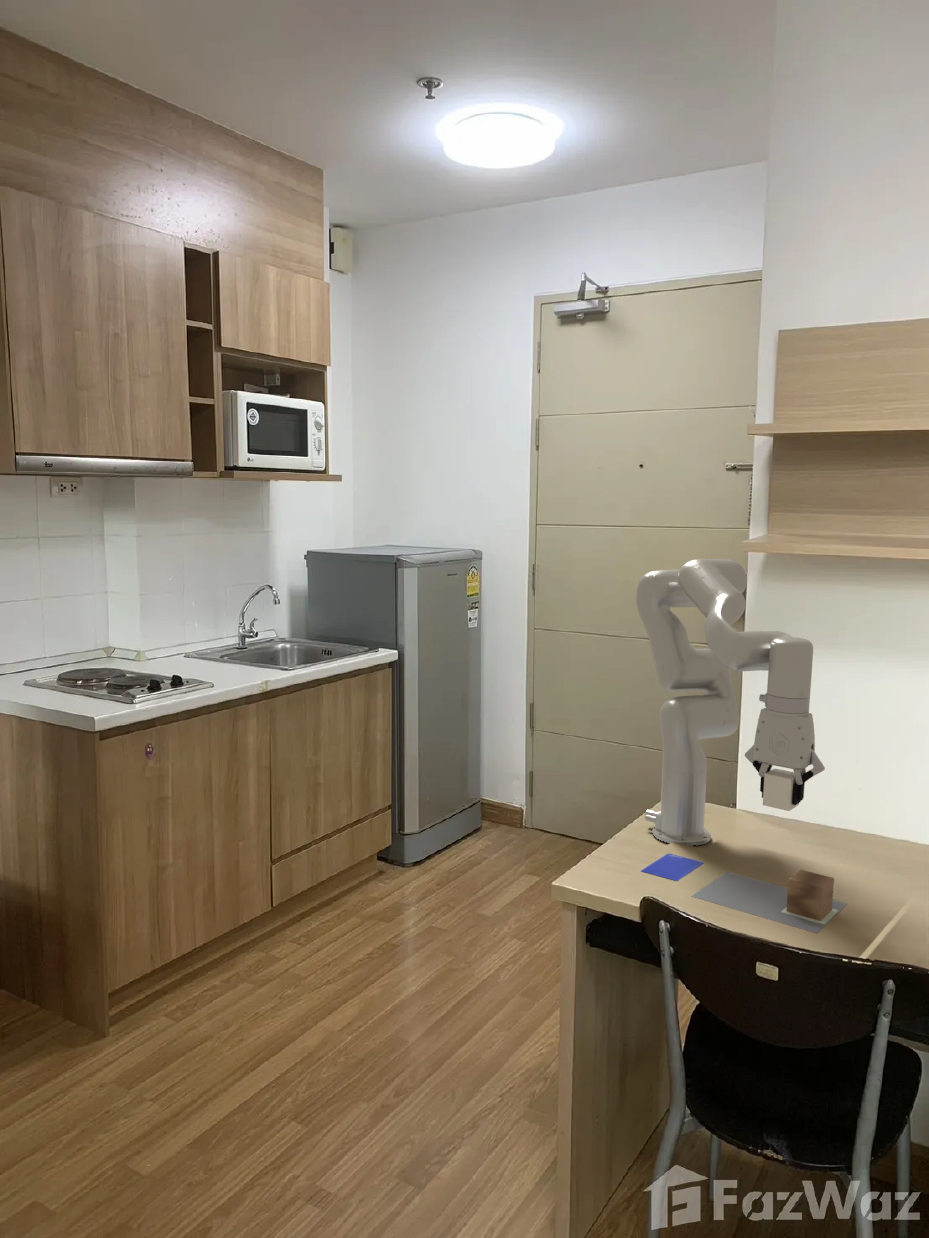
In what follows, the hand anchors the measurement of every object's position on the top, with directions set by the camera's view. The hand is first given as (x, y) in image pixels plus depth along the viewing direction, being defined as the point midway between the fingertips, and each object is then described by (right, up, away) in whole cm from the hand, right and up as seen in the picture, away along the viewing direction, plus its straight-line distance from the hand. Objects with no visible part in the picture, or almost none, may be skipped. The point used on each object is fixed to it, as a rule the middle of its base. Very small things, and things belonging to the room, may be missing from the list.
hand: (781, 798), depth 172 cm
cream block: (0, -1, 0) cm, 1 cm away
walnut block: (+2, -19, -8) cm, 20 cm away
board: (-3, -19, -3) cm, 19 cm away
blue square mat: (-18, -18, +13) cm, 28 cm away
